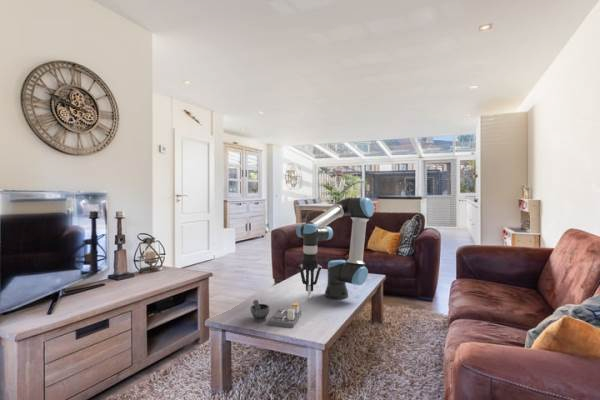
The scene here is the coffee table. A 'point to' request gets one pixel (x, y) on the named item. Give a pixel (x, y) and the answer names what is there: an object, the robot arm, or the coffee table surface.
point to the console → (283, 319)
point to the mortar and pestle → (259, 311)
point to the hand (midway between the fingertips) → (309, 297)
